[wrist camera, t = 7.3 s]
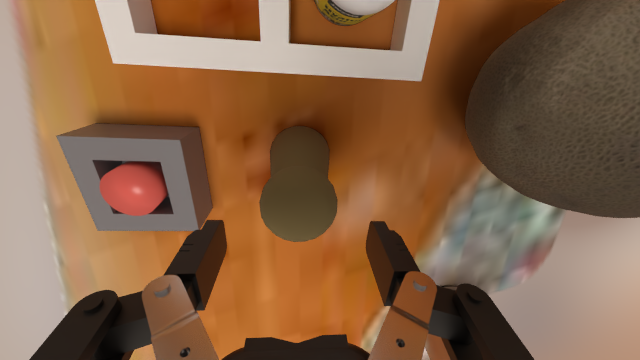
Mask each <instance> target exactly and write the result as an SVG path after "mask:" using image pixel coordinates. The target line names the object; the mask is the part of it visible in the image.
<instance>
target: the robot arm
mask: <svg viewBox="0 0 640 360" xmlns="http://www.w3.org/2000/svg"><path fill="white" fill-rule="evenodd" d="M226 249H227V241H226V235H225V228H224V222H223V220H207V221H206V223H205V224H204V226H203V228H202V230H195V231H194V232H192V233H191V234H190V235H189V236H188V237H187V238H186V240H185V241H184V243H183V246H181V248H180V249H179V252H178V253H177V254H176V256H175V258H174V259H173V261H172V262H171V264H170V266H169V267H168V269H167V271H166V272H165V274H164V275H163V276H161V277H159V278H157V279H155V280H153V281H152V282H150V283H149V284H148V285H147V286H146V287H145V288H144V290H143V291H141V292H137V293H133V294H130V295H126V296H122V297H118V296H117V294H116V293H115V292H114V291H111V290H103V291H98V292H95V293H93V294H90V295H88V296H86V297H85V298H83V299H82V300H80V301H79V302H78V303H77V304H75V306H74V307H73V308H72V309H71V310H70V311H69V312H68V314H67V315H66V316H65V317H64V319H63V320H62V321H61V322H60V323H59V325H58V326H57V327H56V328H55V329H54V331H53V332H52V333H51V334H50V335H49V337H48V338H47V339H46V340H45V341H44V343H43V344H42V345H41V346H40V348H39V349H38V350H37V351H36V352H35V354H34V355H33V356H32V357H31V358H30V360H129V359H130V357H131V355H132V353H133V351H134V350H135V349H137V348H140V347H143V346H146V345H149V344H152V345H153V349H154V353H155V357H156V360H219V358H218V356H217V354H216V352H215V350H214V347H213V345H212V343H211V341H210V339H209V336H208V334H207V332H206V330H205V328H204V325H203V323H202V321H201V319H200V317H199V315H198V313H197V311H199V310H205V307H206V305H207V302H208V299H209V297H210V294H211V291H212V289H213V286H214V283H215V281H216V278H217V275H218V273H219V270H220V267H221V265H222V262H223V259H224V257H225V254H226ZM366 252H367V256H368V259H369V262H370V265H371V268H372V271H373V274H374V277H375V280H376V283H377V286H378V289H379V291H380V294H381V297H382V300H383V303H384V306H391V307H390V309H389V312H388V314H387V316H386V319H385V321H384V323H383V326H382V328H381V330H380V333H379V335H378V337H377V340H376V342H375V344H374V347H373V349H372V351H371V354H369V353H368V352H366V351H365V350H363V349H362V348H360V347H358V346H356V345H353V344H350V343H348V342H347V336H346V334H344V335H322V336H319V337H316V338H313V339H309V340H306V341H303V342H300V343H293V342H289V341H285V340H280V339H276V338H272V337H267V338H246V341H245V346H244V347H243V348H240V349H238V350H236V351H234V352H232V353H230V354H229V355H227V356H226V357H224V358H223V359H222V360H422V356H423V352H424V347H425V348H426V351H427V353H428V355H429V358H430V360H534V358H533V357H532V356H531V354H530V353H529V351H528V350H527V349H526V347H525V346H524V345H523V343H522V342H521V340H520V339H519V337H518V336H517V335H516V333H515V332H514V331H513V329H512V328H511V326H510V325H509V323H508V322H507V321H506V319H505V318H504V316H503V315H502V314H501V312H500V311H499V309H498V308H497V307H496V305H495V304H494V303H493V301H492V300H491V298H490V297H489V296H488V295H487V294H486V293H485V292H484V291H483V290H481V289H480V288H478V287H476V286H474V285H471V284H460V285H459V286H458V287H440V286H437V285H436V284H435V282H434V281H433V280H432V279H431V278H430V277H429V276H427V275H426V274H424V273H421V272H420V270H419V268H418V266H417V265H416V263H415V261H414V259H413V257H412V256H411V254H410V252H409V251H408V248H407V247H406V245H405V243H404V241H403V239H402V237H401V236H400V235H399V234H397V233H396V232H395V231H394V230H389V229H388V227H387V225H386V223H385V222H384V221H371V222H370V225H369V230H368V235H367V240H366Z"/></svg>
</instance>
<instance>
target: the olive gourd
mask: <svg viewBox="0 0 640 360" xmlns="http://www.w3.org/2000/svg"><path fill="white" fill-rule="evenodd" d="M270 163H271V178H270V179H269V180H268V182H267V183H266V185H265V186H264V188H263V191H262V194H261V198H260V211H261V217H262V219H263V221H264V223H265V225H266V226H267V227H268V228H269V229H270V230H271V231H272V232H273V233H274V234H275V235H276V236H278V237H280V238H282V239H284V240H288V241H293V242H303V241H308V240H312V239H315V238H316V237H318V236H320V235H321V234H323V233H324V232H325V231H326V230H327V229H328V228H329V227H330V225H331V224H332V223H333V221H334V218H335V216H336V212H337V196H336V193H335V190H334V187H333V185H332V184H331V183H330V181H329V180H328V168H329V148H328V144H327V142H326V140H325V139H324V138H323V136H322V135H321V134H320V133H318V132H317V131H316V130H314V129H312V128H309V127H305V126H293V127H290V128H287V129H285V130H283V131H282V132H281V133H279V134H278V135H277V136H276V138H275V139H274V141H273V142H272V146H271V150H270Z"/></svg>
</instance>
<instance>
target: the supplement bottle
mask: <svg viewBox="0 0 640 360" xmlns="http://www.w3.org/2000/svg"><path fill="white" fill-rule="evenodd" d="M314 1H315V4H316V6H317V8H318V10H319V11H320V13H321V14H322V15H323V16H324V17H325V18H326V19H327V20H329V21H330V22H332V23H334V24H337V25H341V26H350V25H354V24H357V23H359V22H361V21H363V20H365V19H367V18H368V17H370V16H372V15H374V14H376V13H378V12H380V11H381V10H383V9H385V8H386V7H388V6H389V5H390V4H392V3H393V2H394V1H395V0H314Z"/></svg>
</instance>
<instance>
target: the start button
mask: <svg viewBox="0 0 640 360" xmlns="http://www.w3.org/2000/svg"><path fill="white" fill-rule="evenodd" d="M99 187H100V192H101V195H102V197H103V198H104V200H105V201H106V202H107V203H108V204H109V205H110V206H111V207H112V208H114V209H115V210H117V211H119V212H121V213H124V214H127V215H132V216H142V215H146V214H149V213H151V212H152V211H153V210H154V209H155V208H156V207H157V206H158V205H159V204H160V203H161V202H162V201H163V200H164V199H165V198H166V197H167V196H168V195H169V193H168V190H167V186H166V182H165V178H164V174H163V170H162V166H161V162H152V161H126V162H125V163H123V164H121V165H120V166H118V167H116V168H115V169H113V170H111V171H110V172H108V173H106V174H105V175H104V176H103V177H102V179H101V181H100V186H99Z"/></svg>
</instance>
